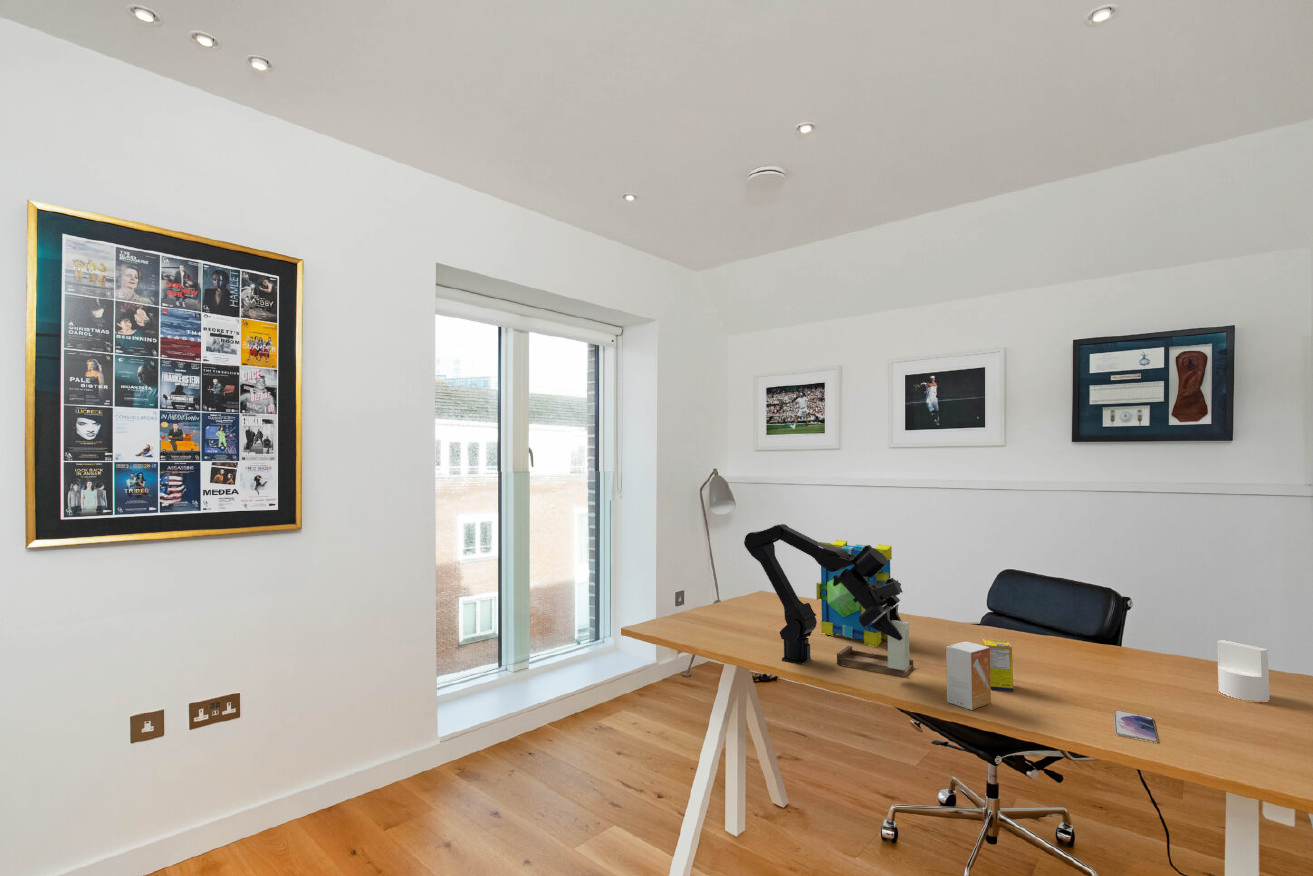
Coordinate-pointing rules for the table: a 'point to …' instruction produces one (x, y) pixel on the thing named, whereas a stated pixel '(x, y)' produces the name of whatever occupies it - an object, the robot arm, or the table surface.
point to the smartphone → (1134, 726)
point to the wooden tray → (869, 661)
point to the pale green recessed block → (899, 647)
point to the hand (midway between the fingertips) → (903, 637)
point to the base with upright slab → (1243, 671)
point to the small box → (968, 675)
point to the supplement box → (1000, 664)
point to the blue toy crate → (849, 600)
